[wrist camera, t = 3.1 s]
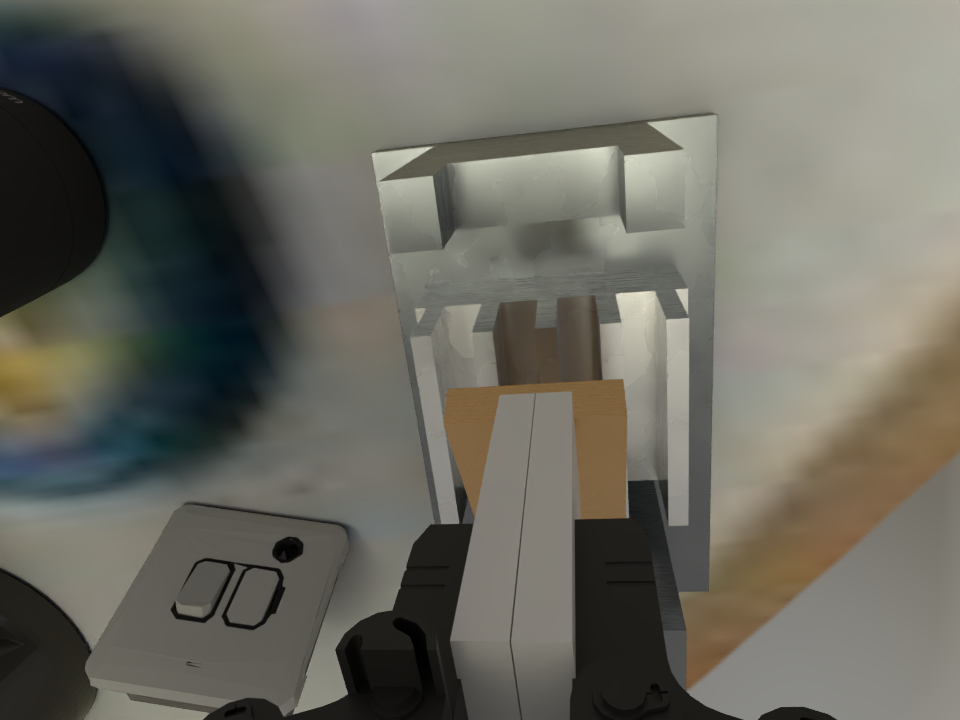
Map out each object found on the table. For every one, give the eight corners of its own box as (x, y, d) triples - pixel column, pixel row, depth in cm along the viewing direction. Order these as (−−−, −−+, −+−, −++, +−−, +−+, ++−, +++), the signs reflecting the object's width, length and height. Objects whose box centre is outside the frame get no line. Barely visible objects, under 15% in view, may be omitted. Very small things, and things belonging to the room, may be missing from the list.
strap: (621, 618, 27) (624, 656, 26) (519, 619, 27) (519, 655, 26) (622, 372, 15) (627, 423, 14) (447, 381, 16) (442, 431, 15)
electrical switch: (353, 522, 35) (288, 682, 27) (356, 592, 38) (296, 757, 30) (181, 497, 36) (66, 647, 28) (194, 567, 38) (93, 723, 30)
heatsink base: (704, 577, 34) (756, 765, 25) (450, 580, 36) (411, 756, 27) (712, 112, 25) (794, 140, 16) (377, 150, 27) (285, 193, 18)
